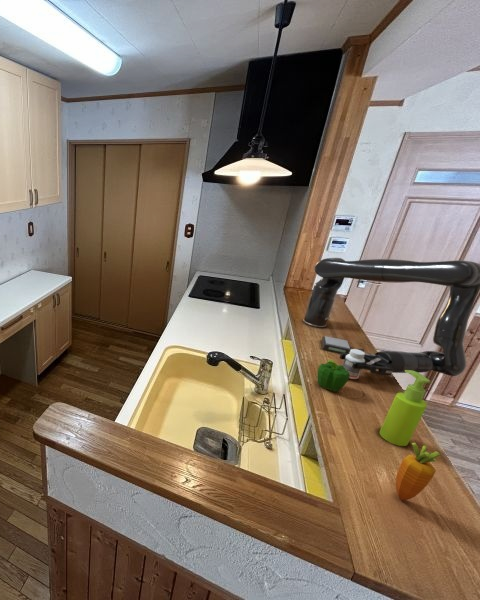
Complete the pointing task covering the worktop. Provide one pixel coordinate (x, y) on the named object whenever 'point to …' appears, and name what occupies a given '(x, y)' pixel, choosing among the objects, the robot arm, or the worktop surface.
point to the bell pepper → (332, 376)
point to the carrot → (415, 473)
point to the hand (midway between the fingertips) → (347, 360)
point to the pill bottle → (350, 359)
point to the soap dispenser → (405, 412)
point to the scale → (335, 345)
